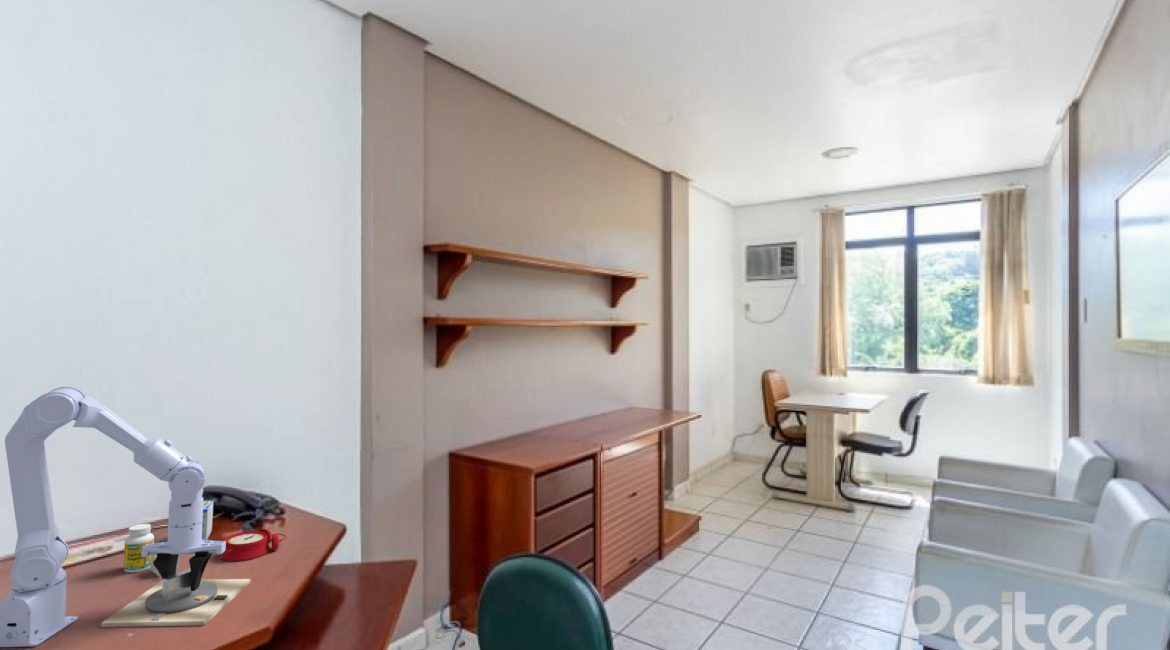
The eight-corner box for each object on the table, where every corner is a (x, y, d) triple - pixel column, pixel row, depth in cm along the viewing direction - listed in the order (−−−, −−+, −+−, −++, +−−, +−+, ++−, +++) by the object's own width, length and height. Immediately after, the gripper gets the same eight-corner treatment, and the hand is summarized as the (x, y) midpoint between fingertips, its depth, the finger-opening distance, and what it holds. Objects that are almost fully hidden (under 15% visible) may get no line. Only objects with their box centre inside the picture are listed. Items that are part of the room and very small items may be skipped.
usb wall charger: (171, 566, 132) (171, 549, 132) (183, 575, 128) (183, 557, 128) (150, 572, 128) (151, 554, 128) (162, 581, 124) (162, 562, 124)
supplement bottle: (154, 561, 134) (155, 521, 134) (152, 570, 129) (153, 528, 129) (124, 566, 131) (126, 524, 131) (121, 575, 126) (123, 532, 126)
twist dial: (231, 591, 119) (232, 566, 119) (172, 617, 107) (173, 590, 108) (191, 580, 123) (192, 556, 123) (130, 605, 112) (131, 578, 112)
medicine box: (192, 533, 152) (193, 501, 152) (212, 531, 154) (213, 499, 154) (186, 544, 145) (187, 510, 145) (206, 542, 147) (208, 508, 147)
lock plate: (204, 625, 107) (204, 618, 107) (101, 627, 105) (101, 620, 105) (250, 582, 125) (250, 577, 125) (162, 583, 123) (163, 577, 123)
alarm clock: (208, 540, 139) (271, 513, 150) (214, 564, 140) (276, 534, 151) (226, 552, 132) (290, 522, 144) (231, 576, 134) (295, 544, 145)
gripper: (232, 515, 121) (230, 579, 120) (156, 517, 118) (153, 582, 118) (218, 526, 114) (215, 594, 114) (136, 529, 111) (133, 598, 111)
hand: (182, 589), depth 115 cm, fingers closed on twist dial, 4 cm apart
